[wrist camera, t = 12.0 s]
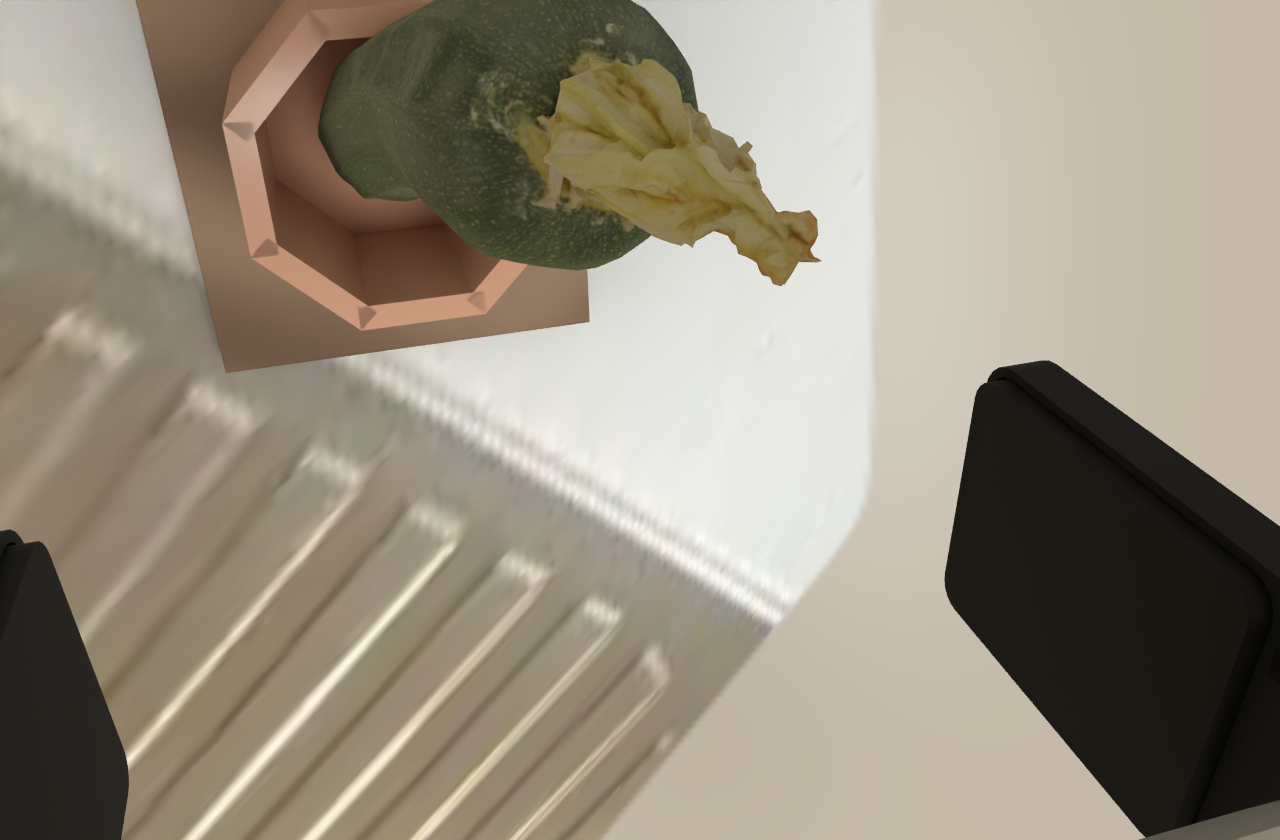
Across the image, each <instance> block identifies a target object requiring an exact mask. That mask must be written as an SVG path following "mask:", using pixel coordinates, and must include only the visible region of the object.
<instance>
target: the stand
mask: <svg viewBox="0 0 1280 840" xmlns="http://www.w3.org/2000/svg"><path fill="white" fill-rule="evenodd" d="M283 1H284V0H136V3H137V7H138V11H139V16H140V20H141V24H142V28H143V32H144V36H145V40H146V44H147V49H148V53H149V57H150V61H151V65H152V69H153V73H154V78H155V82H156V86H157V90H158V94H159V98H160V102H161V106H162V111H163V115H164V119H165V123H166V127H167V131H168V135H169V140H170V144H171V148H172V152H173V156H174V160H175V164H176V168H177V173H178V177H179V181H180V185H181V189H182V193H183V197H184V202H185V206H186V210H187V214H188V218H189V222H190V226H191V230H192V235H193V239H194V243H195V247H196V251H197V255H198V259H199V263H200V268H201V272H202V276H203V280H204V284H205V288H206V292H207V297H208V301H209V305H210V309H211V313H212V317H213V321H214V325H215V330H216V334H217V338H218V342H219V346H220V350H221V354H222V359H223V363H224V367H225V371H226V373H229V372H236V371H243V370H250V369H258V368H265V367H272V366H279V365H286V364H293V363H300V362H308V361H315V360H322V359H329V358H336V357H343V356H350V355H357V354H365V353H372V352H379V351H386V350H393V349H400V348H407V347H414V346H422V345H429V344H436V343H443V342H450V341H457V340H464V339H471V338H479V337H486V336H493V335H500V334H507V333H514V332H521V331H529V330H536V329H543V328H550V327H557V326H564V325H571V324H578V323H586V322H589V301H588V279H587V269H584V270H578V271H577V270H567V269H558V268H548V267H539V266H533V265H527V266H526V267H525V268H524V270H523V271H522V272H521V273H520V274H519V275H518V277H517V278H516V279H515V280H514V281H513V282H512V284H511V285H510V286H509V287H508V288H507V289H506V291H505V292H504V293H503V294H502V295H501V296H500V298H499V299H498V300H497V301H496V302H495V303H494V305H493V306H492V307H491V308H490V309H489V310H488V312H487V313H486V314H482V315H474V316H467V317H460V318H452V319H445V320H437V321H430V322H423V323H415V324H408V325H400V326H393V327H386V328H378V329H371V330H363V331H361V330H360V329H358V328H357V327H355V326H354V325H352V324H350V323H349V322H347V321H346V320H344V319H343V318H341V317H340V316H338V315H337V314H335V313H334V312H332V311H331V310H329V309H328V308H326V307H325V306H323V305H322V304H320V303H319V302H317V301H316V300H314V299H312V298H311V297H309V296H308V295H306V294H305V293H303V292H302V291H300V290H299V289H297V288H296V287H294V286H293V285H291V284H290V283H288V282H287V281H285V280H284V279H282V278H281V277H279V276H278V275H276V274H274V273H273V272H271V271H270V270H268V269H267V268H265V267H264V266H262V265H261V264H259V263H258V262H256V261H255V260H253V259H252V258H251V256H250V251H249V246H248V242H247V237H246V233H245V228H244V223H243V219H242V214H241V209H240V205H239V200H238V195H237V191H236V186H235V181H234V177H233V172H232V168H231V163H230V158H229V154H228V149H227V144H226V140H225V135H224V130H223V126H222V121H223V116H224V110H225V105H226V100H227V95H228V90H229V84H230V79H231V74H232V69H233V68H234V66H235V65H236V64H237V62H238V61H239V60H240V58H241V57H242V56H243V54H244V53H245V52H246V50H247V49H248V48H249V46H250V45H251V44H252V42H253V41H254V40H255V38H256V37H257V36H258V34H259V33H260V32H261V30H262V29H263V28H264V26H265V25H266V24H267V22H268V21H269V20H270V19H271V17H272V16H273V15H274V13H275V12H276V11H277V9H278V8H279V7H280V5H281V4H282V3H283Z"/></svg>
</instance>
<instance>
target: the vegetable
mask: <svg viewBox="0 0 1280 840" xmlns="http://www.w3.org/2000/svg"><path fill="white" fill-rule="evenodd" d="M318 137H319V139H320V141H321V143H322V145H323V147H324V149H325V151H326V153H327V155H328V157H329V159H330V161H331V163H332V165H333V167H334V169H335V171H336V172H337V174H338V175H339V176H340V177H341V178H342V179H343V180H344V181H346V182H347V183H348V184H350V185H351V186H352V187H353V188H354V189H355V190H356V191H357V193H358V194H359V195H360V196H362V197H363V198H364V199H376V198H377V199H384V200H390V201H411V200H415V199H417V198H421V199H422V201H423V202H424V203H425V204H426V205H427V206H428V207H429V208H430V209H431V210H433V211H434V212H435V213H436V214H437V215H438V216H439V217H440V218H441V219H442V220H443V221H444V222H445V223H446V224H447V225H448V226H449V227H450V228H451V229H453V230H454V231H455V232H456V233H457V234H458V235H459V236H460V237H461V238H462V239H463V240H464V241H465V242H466V243H467V244H468V245H469V246H470V247H471V248H473V249H475V250H477V251H478V252H480V253H482V254H485V255H487V256H490V257H494V258H499V259H503V260H507V261H511V262H516V263H522V264H527V265H533V266H539V267H548V268H558V269H567V270H577V271H578V270H584V269H590V268H596V267H599V266H601V265H604V264H606V263H609V262H611V261H613V260H616V259H618V258H620V257H622V256H623V255H625V254H626V253H628V252H629V251H631V250H632V249H633V248H635V247H636V246H638V245H639V244H640V243H642V242H643V241H645V240H646V239H648V238H649V237H650V236H651V235H652V236H654V237H656V238H659V239H662V240H664V241H667V242H670V243H673V244H677V245H680V246H682V245H683V244H684V243H686V244H688V245H689V246H691V247H693V245H694V243H695V241H697V240H698V239H700V238H702V237H704V236H706V235H707V234H709V233H711V232H713V231H716V232H719V233H722V234H725V235H728V237H729V239H730V240H731V242H732V243H733V244H735V245H736V246H737V250H738V254H740V255H743V256H746V257H748V258H750V259H752V260H753V261H755V262H756V263H757V265H758V268H759V270H760V272H761V274H762V275H764V276H768V277H770V278H771V280H772V283H773V284H775V285H779V286H782V284H785V283H786V281H787V280H788V279H789V277H790V276H791V274H792V272H793V271H794V269H795V267H796V266H797V264H798V262H819V261H821V260H819V259H817V258H815V257H814V256H813V255H812V253H811V251H810V248H811V247H812V246H813V244H814V243H815V240H816V238H817V236H818V229H817V219H816V218H815V217H814V215H813V214H812V213H811V212H810V211H809V210H808V211H804V212H800V213H796V212H789V211H782V212H777V211H776V210H775V209H774V207H773V206H772V204H771V203H770V201H769V200H768V198H767V197H766V196H765V194H764V193H763V191H762V190H761V188H762V187H761V184H760V180H759V178H757V175H756V163H755V162H754V161H753V159H752V158H751V157H750V155H749V154H748V152H749V151H750V149H751V148H752V145H751V144H750V143H749V142H748V141H747V142H746V143H745V144H743V145H742V146H741V147H740V148H738V146H737V144H736V142H735V140H734V138H733V137H730V136H728V135H726V134H724V133H722V132H720V131H718V130H715V129H713V128H712V126H711V124H710V122H709V120H708V118H707V116H706V114H704V113H701V112H699V111H698V106H697V100H696V94H695V88H694V82H693V77H692V71H691V69H690V67H689V65H688V63H687V61H686V60H685V58H684V57H683V55H682V54H681V52H680V50H679V49H678V47H677V46H676V44H675V43H674V42H673V40H672V39H671V38H670V37H669V35H668V34H667V33H666V32H665V30H664V29H663V28H662V27H661V25H660V24H659V23H658V22H657V21H656V20H655V19H654V18H653V17H652V15H651V14H650V13H649V12H648V11H647V10H646V9H645V8H643V7H641V6H639V5H637V4H636V3H634V2H633V1H631V0H435V1H433V2H431V3H429V4H427V5H425V6H423V7H421V8H420V9H418V10H416V11H414V12H413V13H411V14H409V15H407V16H404V17H402V18H400V19H398V20H396V21H395V22H393V23H391V24H390V25H388V26H387V27H385V28H383V29H382V30H381V31H380V32H379V33H377V34H376V35H375V36H374V37H372V38H371V39H369V40H368V41H367V42H365V43H364V44H363V45H361V46H360V47H358V48H357V49H355V50H354V51H352V52H351V53H349V54H348V55H346V56H345V57H344V58H343V59H342V60H341V62H340V63H339V65H338V66H337V68H336V69H335V71H334V73H333V74H332V77H331V80H330V83H329V86H328V89H327V92H326V95H325V98H324V101H323V105H322V109H321V113H320V120H319V124H318Z"/></svg>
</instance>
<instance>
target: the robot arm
mask: <svg viewBox="0 0 1280 840" xmlns="http://www.w3.org/2000/svg"><path fill="white" fill-rule="evenodd" d="M945 589H946V592H947V596H948V598H949V601H950V603H951V605H952V606H953V608H954V609H955V610H956V611H957V613H958V614H959V615H960V616H961V618H962V619H963V620H964V621H965V622H966V624H967V625H968V626H969V627H970V629H971V630H972V631H973V632H974V633H975V634H976V636H977V637H978V638H979V639H980V640H981V642H982V643H983V644H984V645H985V646H986V648H987V649H988V650H989V651H990V653H991V654H992V655H993V656H994V657H995V658H996V660H997V661H998V662H999V663H1000V665H1001V666H1002V667H1003V668H1004V669H1005V671H1006V672H1007V673H1008V674H1009V675H1010V676H1011V678H1012V679H1013V680H1014V681H1015V682H1016V684H1017V685H1018V686H1019V687H1020V689H1021V690H1022V691H1023V692H1024V693H1025V695H1026V696H1027V697H1028V698H1029V699H1030V701H1031V702H1033V704H1034V705H1035V706H1036V708H1037V709H1038V710H1039V711H1040V713H1041V714H1042V715H1043V716H1044V717H1045V718H1046V720H1047V721H1048V722H1049V723H1050V724H1051V726H1052V727H1053V728H1054V729H1055V731H1056V732H1057V733H1058V734H1059V735H1060V737H1061V738H1062V739H1063V740H1064V741H1065V743H1066V744H1067V745H1068V746H1069V747H1070V749H1071V750H1072V751H1073V752H1074V753H1075V755H1076V756H1077V757H1078V758H1079V759H1080V761H1081V762H1082V763H1083V764H1084V765H1085V767H1086V768H1087V769H1088V770H1089V771H1090V773H1091V774H1092V775H1093V776H1094V777H1095V779H1096V780H1097V781H1098V782H1099V783H1100V785H1101V786H1102V787H1103V788H1104V789H1105V791H1106V792H1107V793H1108V794H1109V795H1110V796H1111V798H1112V799H1113V800H1114V801H1115V803H1116V804H1117V805H1118V806H1119V807H1120V809H1121V810H1122V811H1123V812H1124V813H1125V815H1126V816H1127V817H1128V818H1129V819H1130V821H1131V822H1132V823H1133V824H1134V825H1135V827H1136V828H1137V829H1138V830H1139V831H1140V832H1141V833H1142V834H1143V835H1144V836H1145V837H1146V838H1143V839H1140V840H1280V526H1278V525H1277V524H1276V523H1274V522H1273V521H1272V520H1270V519H1269V518H1268V517H1266V516H1265V515H1263V514H1262V513H1261V512H1259V511H1258V510H1257V509H1255V508H1254V507H1252V506H1251V505H1250V504H1248V503H1247V502H1245V501H1244V500H1243V499H1241V498H1240V497H1239V496H1237V495H1236V494H1235V493H1233V492H1232V491H1230V490H1229V489H1227V488H1226V487H1225V486H1223V485H1222V484H1221V483H1219V482H1218V481H1217V480H1215V479H1214V478H1213V477H1211V476H1210V475H1208V474H1207V473H1205V472H1204V471H1203V470H1201V469H1200V468H1199V467H1197V466H1196V465H1194V464H1193V463H1192V462H1190V461H1189V460H1188V459H1186V458H1185V457H1184V456H1182V455H1181V454H1179V453H1178V452H1177V451H1175V450H1174V449H1173V448H1171V447H1170V446H1168V445H1167V444H1166V443H1164V442H1163V441H1162V440H1160V439H1159V438H1157V437H1156V436H1155V435H1153V434H1152V433H1151V432H1149V431H1148V430H1146V429H1145V428H1144V427H1142V426H1141V425H1139V424H1138V423H1136V422H1135V421H1134V420H1133V419H1131V418H1130V417H1128V416H1127V415H1126V414H1124V413H1123V412H1122V411H1120V410H1119V409H1117V408H1116V407H1115V406H1113V405H1112V404H1111V403H1109V402H1108V401H1106V400H1105V399H1104V398H1102V397H1101V396H1100V395H1098V394H1097V393H1095V392H1094V391H1093V390H1091V389H1090V388H1088V387H1087V386H1086V385H1084V384H1083V383H1082V382H1080V381H1079V380H1077V379H1076V378H1075V377H1073V376H1072V375H1071V374H1069V373H1068V372H1066V371H1065V370H1064V369H1062V368H1061V367H1060V366H1058V365H1057V364H1055V363H1053V362H1051V361H1036V362H1030V363H1024V364H1018V365H1012V366H1006V367H1000V368H998V369H996V370H995V371H993V372H992V374H991V375H990V377H989V378H988V381H987V383H984V384H983V385H981V386H980V387H979V389H978V390H977V393H976V396H975V401H974V407H973V413H972V418H971V424H970V430H969V436H968V442H967V448H966V453H965V459H964V465H963V472H962V478H961V483H960V489H959V495H958V501H957V507H956V513H955V518H954V525H953V530H952V535H951V541H950V547H949V553H948V559H947V565H946V571H945ZM128 788H129V775H128V765H127V760H126V755H125V752H124V749H123V746H122V744H121V741H120V738H119V736H118V733H117V730H116V728H115V725H114V723H113V720H112V717H111V715H110V712H109V709H108V707H107V704H106V701H105V699H104V696H103V694H102V691H101V688H100V686H99V683H98V680H97V678H96V675H95V673H94V670H93V667H92V665H91V662H90V659H89V657H88V654H87V651H86V649H85V646H84V644H83V641H82V638H81V636H80V633H79V630H78V628H77V625H76V623H75V620H74V617H73V615H72V612H71V609H70V607H69V604H68V601H67V599H66V596H65V594H64V591H63V588H62V586H61V583H60V580H59V578H58V575H57V573H56V570H55V567H54V565H53V562H52V559H51V557H50V554H49V552H48V550H47V548H46V547H45V546H44V544H43V543H41V542H39V541H37V542H31V543H25V544H24V543H23V541H22V539H21V538H20V537H19V535H18V534H17V533H16V532H15V531H12V530H4V531H0V840H121V836H122V829H123V823H124V816H125V810H126V804H127V797H128Z"/></svg>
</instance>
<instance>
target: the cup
mask: <svg viewBox="0 0 1280 840" xmlns="http://www.w3.org/2000/svg"><path fill="white" fill-rule="evenodd" d="M433 1H435V0H284V1H283V3H282V4H281V5H280V7H279V8H278V9H277V11H276V12H275V13H274V15H273V16H272V17H271V19H270V20H269V21H268V22H267V24H266V25H265V26H264V28H263V29H262V30H261V32H260V33H259V34H258V36H257V37H256V38H255V40H254V41H253V42H252V44H251V45H250V46H249V48H248V49H247V50H246V52H245V53H244V54H243V56H242V57H241V58H240V60H239V61H238V62H237V64H236V65H235V66H234V68H233V69H232V74H231V79H230V84H229V90H228V95H227V100H226V105H225V110H224V116H223V121H222V126H223V130H224V135H225V140H226V144H227V149H228V154H229V158H230V163H231V168H232V172H233V177H234V181H235V186H236V191H237V195H238V200H239V205H240V209H241V214H242V219H243V223H244V228H245V233H246V237H247V242H248V246H249V251H250V256H251V258H252V259H253V260H255V261H256V262H258V263H259V264H261V265H262V266H264V267H265V268H267V269H268V270H270V271H271V272H273V273H274V274H276V275H278V276H279V277H281V278H282V279H284V280H285V281H287V282H288V283H290V284H291V285H293V286H294V287H296V288H297V289H299V290H300V291H302V292H303V293H305V294H306V295H308V296H309V297H311V298H312V299H314V300H316V301H317V302H319V303H320V304H322V305H323V306H325V307H326V308H328V309H329V310H331V311H332V312H334V313H335V314H337V315H338V316H340V317H341V318H343V319H344V320H346V321H347V322H349V323H350V324H352V325H354V326H355V327H357V328H358V329H360V330H361V331H363V330H371V329H378V328H386V327H393V326H400V325H408V324H415V323H423V322H430V321H437V320H445V319H452V318H460V317H467V316H474V315H482V314H486V313H487V312H488V310H489V309H490V308H491V307H492V306H493V305H494V303H495V302H496V301H497V300H498V299H499V298H500V296H501V295H502V294H503V293H504V292H505V291H506V289H507V288H508V287H509V286H510V285H511V284H512V282H513V281H514V280H515V279H516V278H517V277H518V275H519V274H520V273H521V272H522V271H523V270H524V268H525V267H526V266H527V264H522V263H516V262H511V261H507V260H503V259H499V258H494V257H490V256H487V255H485V254H482V253H480V252H478V251H477V250H475V249H473V248H471V247H470V246H469V245H468V244H467V243H466V242H465V241H464V240H463V239H462V238H461V237H460V236H459V235H458V234H457V233H456V232H455V231H454V230H453V229H451V228H450V227H449V226H448V225H447V224H446V223H445V222H444V221H443V220H442V219H441V218H440V217H439V216H438V215H437V214H436V213H435V212H434V211H433V210H431V209H430V208H429V207H428V206H427V205H426V204H425V203H424V202H423V201H422V199H421V198H417V199H415V200H411V201H390V200H384V199H377V198H376V199H364V198H363V197H362V196H360V195H359V194H358V193H357V191H356V190H355V189H354V188H353V187H352V186H351V185H350V184H348V183H347V182H346V181H344V180H343V179H342V178H341V177H340V176H339V175H338V174H337V172H336V171H335V169H334V167H333V165H332V163H331V161H330V159H329V157H328V155H327V153H326V151H325V149H324V147H323V145H322V143H321V141H320V139H319V137H318V124H319V120H320V113H321V109H322V105H323V101H324V98H325V95H326V92H327V89H328V86H329V83H330V80H331V77H332V74H333V73H334V71H335V69H336V68H337V66H338V65H339V63H340V62H341V60H342V59H343V58H344V57H345V56H346V55H348V54H349V53H351V52H352V51H354V50H355V49H357V48H358V47H360V46H361V45H363V44H364V43H365V42H367V41H368V40H369V39H371V38H372V37H374V36H375V35H376V34H377V33H379V32H380V31H381V30H382V29H383V28H385V27H387V26H388V25H390V24H391V23H393V22H395V21H396V20H398V19H400V18H402V17H404V16H407V15H409V14H411V13H413V12H414V11H416V10H418V9H420V8H421V7H423V6H425V5H427V4H429V3H431V2H433Z"/></svg>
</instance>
